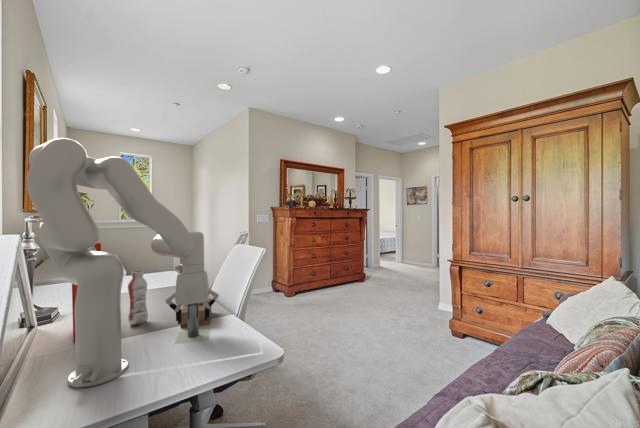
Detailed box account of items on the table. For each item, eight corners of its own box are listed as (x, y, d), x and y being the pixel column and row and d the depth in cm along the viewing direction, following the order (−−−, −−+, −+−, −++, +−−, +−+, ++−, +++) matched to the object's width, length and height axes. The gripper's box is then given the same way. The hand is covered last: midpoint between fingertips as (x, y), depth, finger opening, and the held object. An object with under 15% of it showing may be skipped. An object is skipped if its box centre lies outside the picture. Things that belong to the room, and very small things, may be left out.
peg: (198, 336, 98) (198, 294, 98) (187, 338, 97) (186, 295, 97) (199, 332, 101) (198, 292, 101) (188, 334, 100) (187, 293, 100)
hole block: (210, 325, 109) (209, 309, 109) (180, 329, 106) (180, 312, 106) (211, 312, 124) (211, 298, 124) (185, 315, 121) (185, 300, 121)
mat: (208, 340, 96) (208, 339, 96) (174, 345, 93) (174, 343, 93) (209, 329, 105) (209, 328, 105) (178, 333, 102) (178, 332, 102)
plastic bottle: (152, 320, 115) (151, 269, 115) (140, 327, 109) (139, 273, 109) (136, 320, 116) (136, 269, 116) (123, 327, 109) (123, 273, 109)
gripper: (161, 272, 93) (162, 328, 93) (219, 268, 98) (220, 321, 98) (165, 268, 100) (166, 320, 100) (219, 265, 106) (220, 314, 105)
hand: (193, 320), depth 99 cm, fingers open, 7 cm apart
